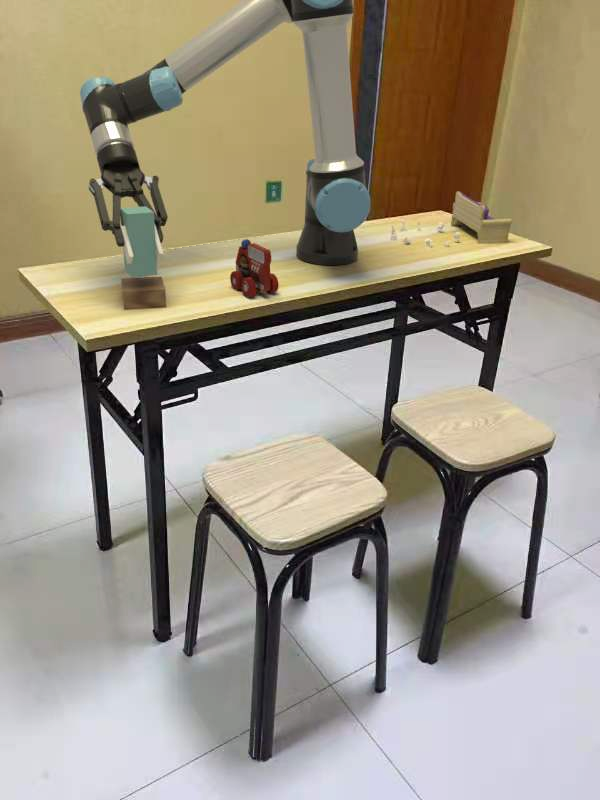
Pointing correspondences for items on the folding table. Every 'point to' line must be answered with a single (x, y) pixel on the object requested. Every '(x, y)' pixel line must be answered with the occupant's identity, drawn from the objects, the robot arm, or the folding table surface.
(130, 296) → the slab
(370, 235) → the folding table surface
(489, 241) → the toy sofa
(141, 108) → the robot arm
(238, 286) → the toy fire truck
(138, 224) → the pillar
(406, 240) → the game piece set
